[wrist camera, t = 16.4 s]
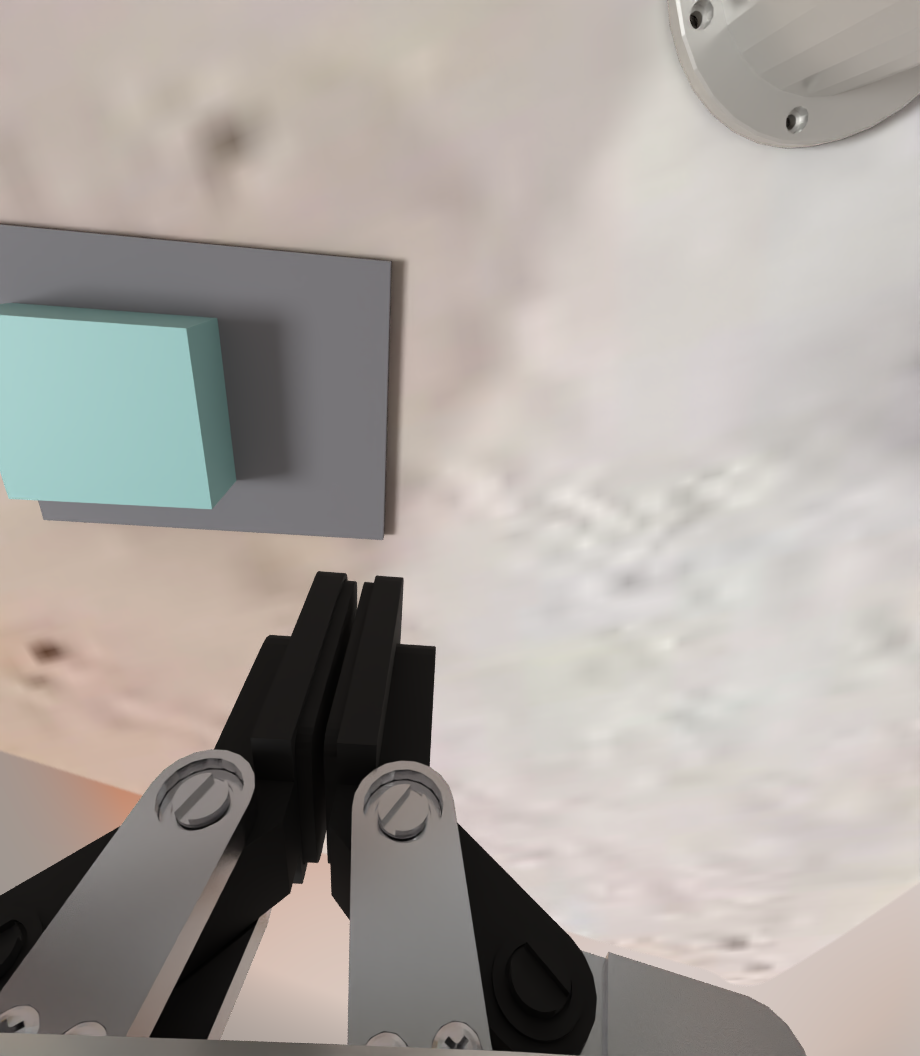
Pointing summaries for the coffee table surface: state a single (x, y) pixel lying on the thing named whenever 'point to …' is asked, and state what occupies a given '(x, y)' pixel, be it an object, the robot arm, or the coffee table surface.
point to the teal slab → (113, 407)
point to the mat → (246, 368)
